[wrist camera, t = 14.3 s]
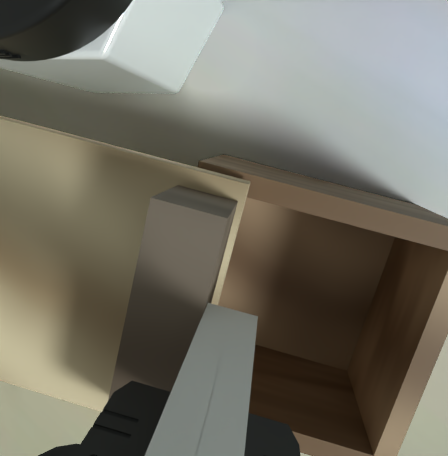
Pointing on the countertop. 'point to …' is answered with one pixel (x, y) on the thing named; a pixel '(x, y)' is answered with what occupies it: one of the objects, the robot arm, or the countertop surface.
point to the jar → (106, 42)
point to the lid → (105, 261)
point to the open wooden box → (337, 306)
